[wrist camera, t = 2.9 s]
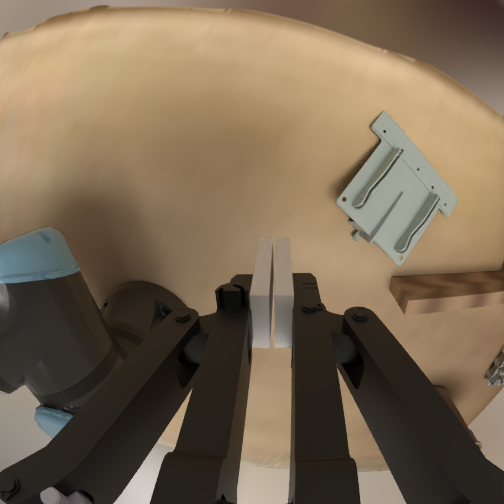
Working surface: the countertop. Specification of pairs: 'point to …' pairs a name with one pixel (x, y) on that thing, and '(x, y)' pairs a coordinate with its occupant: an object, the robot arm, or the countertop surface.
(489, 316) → the countertop surface
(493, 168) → the countertop surface
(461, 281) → the wooden corner frame
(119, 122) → the countertop surface
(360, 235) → the metal bracket
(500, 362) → the egg carton
